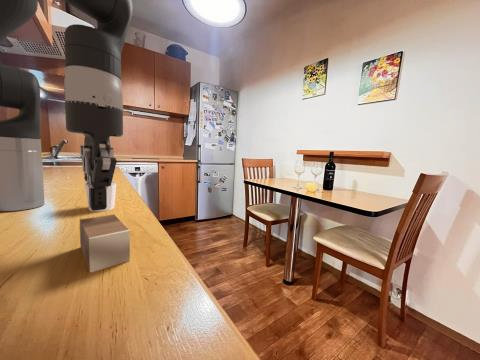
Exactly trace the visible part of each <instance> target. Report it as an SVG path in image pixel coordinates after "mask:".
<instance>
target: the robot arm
mask: <svg viewBox="0 0 480 360" xmlns="http://www.w3.org/2000/svg"><path fill="white" fill-rule="evenodd" d="M63 1H64V2H65V3H67V4H69V6H71V7H74V8H75V9H76V10H78V11H80V12H82V13H83V14H84V15H87V16H89V18H91V19H93V20H95V21H96V24H97V26H96V27H92V26H89V25H84V24H78V23H77V24H70V25H68V26H67V27H66V28H65V30H64V37H63V38H64V59H65V60H64V61H65V73H64V82H63V83H64V85H63V87H64V90H63V91H64V110H65V111H64V114H65V129H66V130H67V132H69V133H72V134H81V135H83V136H84V138H83V139H84V141H83V143H84V144H83V145H82V144H81V145H80V146H79V154H80V157H81V161H82V162H81V163H82V172H83V175H84V180H85V182H86V183H85V184H87V186H88V187H90V188H89V207H90V208H91V209H92V210H93V211H92V212H95V211H96V210H104V209H106V207H107V194H106V188H108V186H111V184H112V182H113V178H114V174H115V170H116V165H117V162H118V161H117V158H116V157H114V155H115V154H114V153H115V152H114V148H113V147H111V140H110V137H116V138H119V137H120V138H121V137H122V136H123V135H124V95H123V87H122V86H123V85H122V58H121V57H122V52H123V49H124V45H125V41H126V38H127V34H128V31H129V28H130V25H131V22H132V18H133V13H134V10H133V9H134V8H133V1H132V0H63ZM38 2H39V0H0V45H1V44H2V43H3V41H5V40H6V38H7V37H9V36H10V35H11V34H12V33H14V32H16V31H17V30H18V29H20V28H21V27H23V26H24V25H26V24H27V23H28V22H29V21H30V20H32V19H33V17H34V16H35V15H36V13H37V11H38V7H39V6H38V5H39V3H38ZM40 88H41V87H40V83H39V79H38V77H37V76H36V75H35V74H34V73H33V72H31V71H30V72H29V71H27V70H24V69H20V68H16V67H14V66H13V67H11V66H9V65H5V64H1V63H0V107H3V108H10V109H15V110H18V111H19V112H18V115H16V116H13V117H11V118H7V119H3V120H0V212H14V211H24V210H30V209H35V208H39V207H42V206H44V205H45V184H44V183H45V182H44V172H43V171H44V170H43V155H42V152H43V151H42V139H41V89H40ZM89 207H88V208H89Z"/></svg>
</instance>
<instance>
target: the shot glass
mask: <svg viewBox="0 0 480 360" xmlns="http://www.w3.org/2000/svg"><path fill="white" fill-rule="evenodd" d="M84 186H85V192H86V199H87V206H88V210H89V211H90V212H94V213H95V212H107V210H108V211H110V210H111V211H112V210H113V209H115V202H116V193H117V192H116V190H117V183H116V182H115V181H112V184H111V186H108V188H106V194H107V207H106V209H104V210H96V211H93V210H92V209H91V208H90V207H89V188H90V187H88V186H87V184H86V183H84Z"/></svg>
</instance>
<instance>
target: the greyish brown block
mask: <svg viewBox="0 0 480 360" xmlns="http://www.w3.org/2000/svg"><path fill="white" fill-rule="evenodd" d="M130 232H131V231H130V229H129V228H128V227H127V226H126V225H125V224H124V223H123V222H122V221H121V220H120V219H119V218H118V217H117V216H116V214H108V215H102V216H101V215H100V216H96V217H94V216H93V217H88V218H80V219H79V235H80V236H79V237H80V238H79V239H80V240H79V241H80V242H79V244H80V250H81V251H82V255H83V257H84V261H85V262H86V265H87V269H88V270H89V272H90V273H94V272H98V271H101V270H104V269H107V268H110V267H114V266H117V265H120V264H124V263H127V262H130V260H131V257H130V256H131V250H130V249H131V247H130V245H131V233H130Z"/></svg>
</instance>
